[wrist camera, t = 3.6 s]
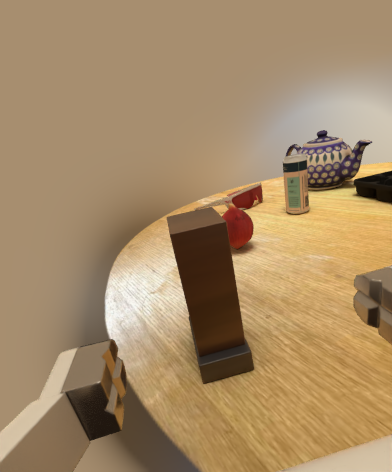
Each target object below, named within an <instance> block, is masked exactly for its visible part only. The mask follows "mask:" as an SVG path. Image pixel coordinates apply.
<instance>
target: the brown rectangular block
mask: <svg viewBox="0 0 392 472" xmlns="http://www.w3.org/2000/svg"><path fill="white" fill-rule="evenodd" d="M167 222H168V227H169V233H170V237H171V241H172V246H173V250H174V254H175V258H176V262H177V266H178V270H179V275H180V279H181V283H182V287H183V291H184V295H185V299H186V304H187V308H188V312H189V321H190V326H191V331H192V336H193V340H194V345H195V350H196V355H197V360H198V364H199V369H200V373H201V377H202V381H203V383H204V384H205V383H208V382H212V381H215V380H219V379H222V378H226V377H229V376H233V375H236V374H240V373H243V372H247V371H250V370H253V369H254V366H253V359H252V352H251V350H250V348H249V346H248V344H247V341H246V339H245V337H244V331H243V325H242V319H241V312H240V306H239V299H238V293H237V286H236V280H235V274H234V267H233V261H232V254H231V248H230V242H229V235H228V229H227V222H226V221H225V220H224V219H223V218H222V217H221V216H220V215H219V214H218V213H217V212H216V211H215V210H214V209H213V208H212V207H209V208H204V209H200V210H195V211H191V212H187V213H182V214H178V215H173V216H169V217H167Z"/></svg>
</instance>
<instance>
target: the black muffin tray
mask: <svg viewBox="0 0 392 472" xmlns="http://www.w3.org/2000/svg"><path fill="white" fill-rule="evenodd" d="M354 185H356V191H357V193H358V194H359V195H362V196H366V197H377V199H378V200H380V201H385V202H392V171H389V172H385V173H380V174H376V175H372V176H368V177H363V178H359V179H355V180H354Z"/></svg>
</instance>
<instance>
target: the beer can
mask: <svg viewBox="0 0 392 472" xmlns="http://www.w3.org/2000/svg"><path fill="white" fill-rule="evenodd" d="M283 170H284V186H285V201H286V211H287V212H289V213H290V214H302V213H305V212H306V211H308V210H309V200H308V173H307V157H306V156H305V154H295V155H289V156H286V157H285V158H284V161H283Z"/></svg>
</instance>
